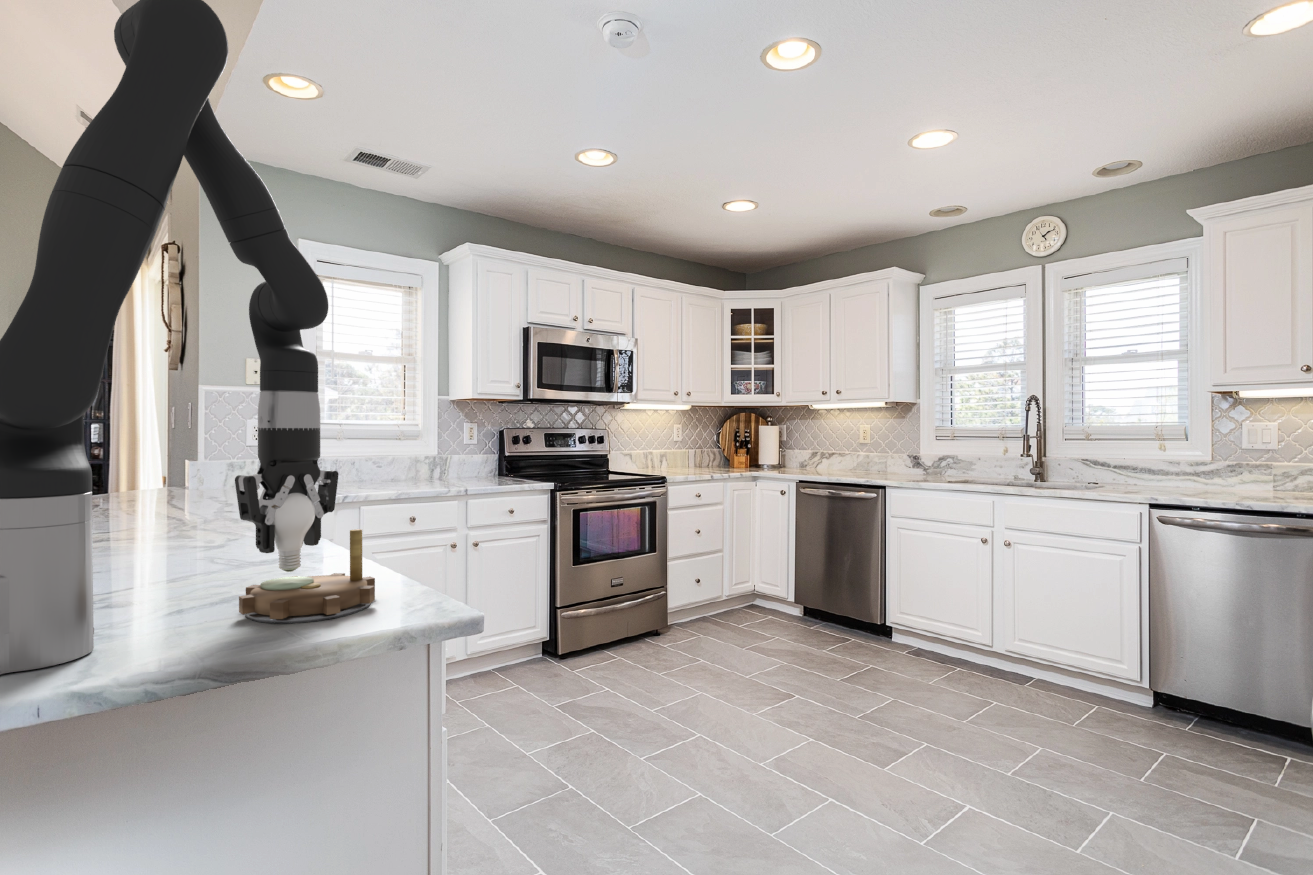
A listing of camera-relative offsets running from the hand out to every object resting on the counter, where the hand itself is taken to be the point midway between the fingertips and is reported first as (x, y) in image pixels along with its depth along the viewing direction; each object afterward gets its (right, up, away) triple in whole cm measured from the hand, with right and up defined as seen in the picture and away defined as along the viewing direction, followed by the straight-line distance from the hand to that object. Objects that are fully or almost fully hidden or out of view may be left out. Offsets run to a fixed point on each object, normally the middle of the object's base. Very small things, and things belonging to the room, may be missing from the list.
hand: (289, 548), depth 94 cm
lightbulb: (0, -3, 0) cm, 3 cm away
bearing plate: (+4, -8, -1) cm, 9 cm away
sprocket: (+4, -8, -1) cm, 9 cm away
